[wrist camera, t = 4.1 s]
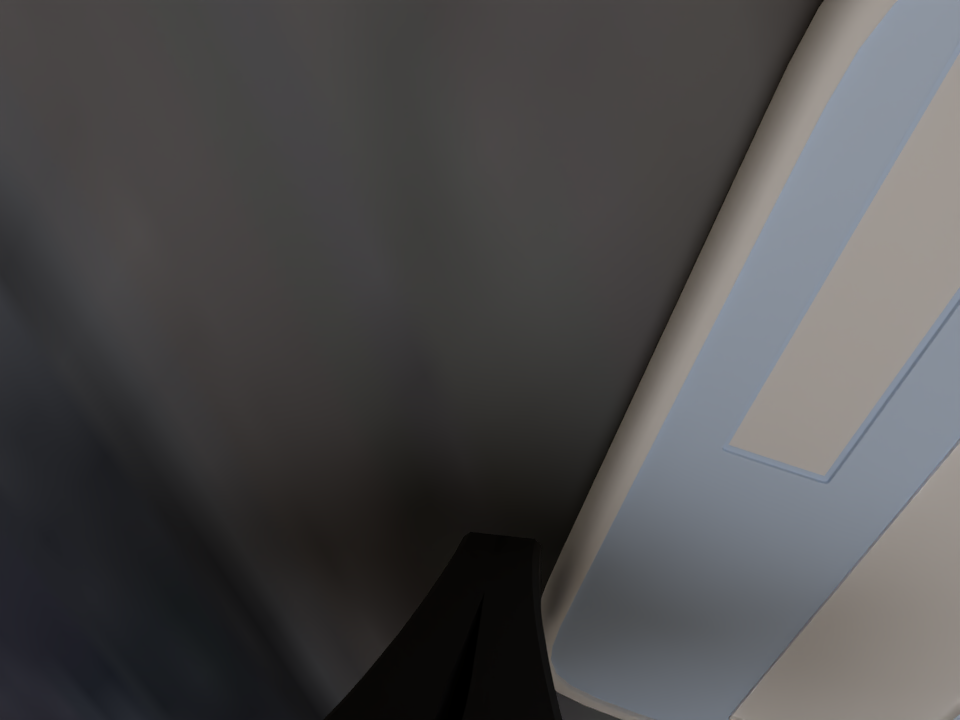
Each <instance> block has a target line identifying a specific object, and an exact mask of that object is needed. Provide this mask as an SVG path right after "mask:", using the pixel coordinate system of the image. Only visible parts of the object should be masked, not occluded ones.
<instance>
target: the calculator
mask: <svg viewBox="0 0 960 720" xmlns="http://www.w3.org/2000/svg"><path fill="white" fill-rule="evenodd" d="M541 613H542V621H543V628H544V634H545V640H546V646H547V652H548V658H549V664H550V669H551V673H552V678H553V683H554V687H555V690H556V691H557V692H558V693H560V694H562V695H564V696H567V697H569V698H571V699H573V700H575V701H577V702H579V703H581V704H583V705H585V706H588V707H590V708H593V709H596V710H598V711H601V712H603V713H606V714H609V715H611V716H614V717H617V718H619V719H622V720H960V0H824V1H823V2H822V4H821V5H820V7H819V8H818V10H817V12H816V14H815V16H814V18H813V19H812V21H811V23H810V25H809V27H808V29H807V31H806V32H805V34H804V36H803V38H802V40H801V42H800V44H799V45H798V47H797V49H796V51H795V53H794V55H793V57H792V59H791V60H790V62H789V64H788V66H787V68H786V70H785V73H784V75H783V77H782V79H781V81H780V83H779V85H778V87H777V89H776V92H775V94H774V96H773V98H772V100H771V102H770V104H769V106H768V108H767V111H766V113H765V115H764V117H763V119H762V121H761V123H760V125H759V127H758V130H757V132H756V134H755V136H754V138H753V140H752V142H751V145H750V147H749V149H748V151H747V153H746V155H745V158H744V160H743V162H742V164H741V166H740V168H739V170H738V173H737V175H736V177H735V179H734V181H733V183H732V186H731V188H730V190H729V192H728V194H727V196H726V198H725V201H724V203H723V205H722V207H721V209H720V211H719V213H718V216H717V218H716V220H715V222H714V224H713V226H712V229H711V231H710V233H709V235H708V237H707V239H706V241H705V244H704V246H703V248H702V250H701V252H700V254H699V256H698V259H697V261H696V263H695V265H694V267H693V269H692V272H691V274H690V276H689V278H688V280H687V282H686V284H685V287H684V289H683V291H682V293H681V295H680V297H679V300H678V302H677V304H676V306H675V308H674V310H673V312H672V315H671V317H670V319H669V321H668V323H667V325H666V327H665V330H664V332H663V334H662V336H661V338H660V340H659V343H658V345H657V347H656V349H655V351H654V353H653V355H652V358H651V360H650V362H649V364H648V366H647V368H646V370H645V373H644V375H643V377H642V379H641V381H640V383H639V386H638V388H637V390H636V392H635V394H634V396H633V398H632V401H631V403H630V405H629V407H628V409H627V411H626V414H625V416H624V418H623V420H622V422H621V424H620V426H619V429H618V431H617V433H616V435H615V437H614V439H613V441H612V444H611V446H610V448H609V450H608V452H607V454H606V457H605V459H604V461H603V463H602V465H601V467H600V469H599V472H598V474H597V476H596V478H595V480H594V482H593V485H592V487H591V489H590V491H589V493H588V495H587V497H586V500H585V502H584V504H583V506H582V508H581V510H580V512H579V515H578V517H577V519H576V521H575V523H574V525H573V528H572V530H571V532H570V534H569V536H568V538H567V540H566V543H565V545H564V547H563V549H562V551H561V553H560V555H559V558H558V560H557V562H556V564H555V566H554V569H553V571H552V573H551V575H550V578H549V580H548V582H547V584H546V587H545V589H544V592H543V595H542V598H541Z"/></svg>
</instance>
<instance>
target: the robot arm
mask: <svg viewBox="0 0 960 720" xmlns="http://www.w3.org/2000/svg"><path fill="white" fill-rule="evenodd" d="M324 720H562V717H561V713H560V709H559V705H558V700H557V696H556V692H555V687H554V683H553V678H552V673H551V669H550V664H549V658H548V652H547V646H546V640H545V634H544V628H543V621H542V613H541V545H540V544H539V543H538V542H537V541H536V540H535V539H527V538H518V537H509V536H500V535H491V534H482V533H473V532H470V533H469V534H467V535H466V536H464V538H463V540H462V542H461V543H460V545H459V547H458V549H457V550H456V552H455V554H454V555H453V557H452V559H451V560H450V562H449V563H448V565H447V567H446V568H445V570H444V571H443V573H442V574H441V576H440V577H439V579H438V580H437V582H436V583H435V585H434V586H433V587H432V589H431V590H430V592H429V593H428V595H427V596H426V598H425V599H424V600H423V602H422V603H421V604H420V606H419V607H418V608H417V610H416V611H415V612H414V614H413V615H412V617H411V618H410V619H409V621H408V622H407V623H406V625H405V626H404V627H403V629H402V630H401V631H400V633H399V634H398V635H397V636H396V638H395V639H394V640H393V641H392V643H391V644H390V645H389V646H388V647H387V649H386V650H385V651H384V652H383V653H382V655H381V656H380V657H379V658H378V660H377V661H376V662H375V663H374V664H373V666H372V667H371V668H370V669H369V670H368V672H367V673H366V674H365V675H364V676H363V678H362V679H361V680H360V681H359V682H358V683H357V684H356V685H355V687H354V688H353V689H352V690H351V691H350V692H349V693H348V694H347V695H346V697H345V698H344V699H343V700H342V701H341V702H340V703H339V704H338V705H337V706H336V707H335V708H334V709H333V710H332V711H331V713H330V714H329V715H328V716H327V717H326V718H325V719H324Z"/></svg>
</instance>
